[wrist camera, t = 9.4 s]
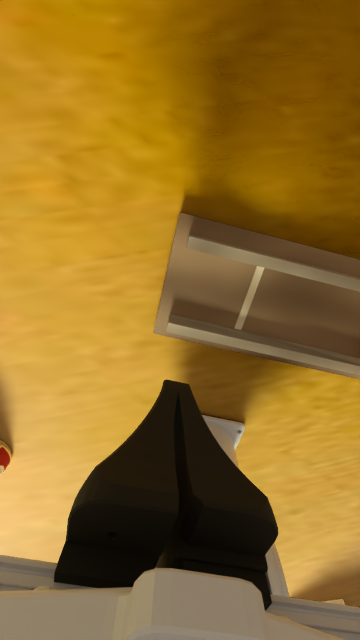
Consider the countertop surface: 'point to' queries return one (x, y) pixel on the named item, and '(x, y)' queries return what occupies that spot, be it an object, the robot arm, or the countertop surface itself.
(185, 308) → the fader board
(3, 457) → the soda can
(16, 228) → the countertop surface
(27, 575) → the robot arm
